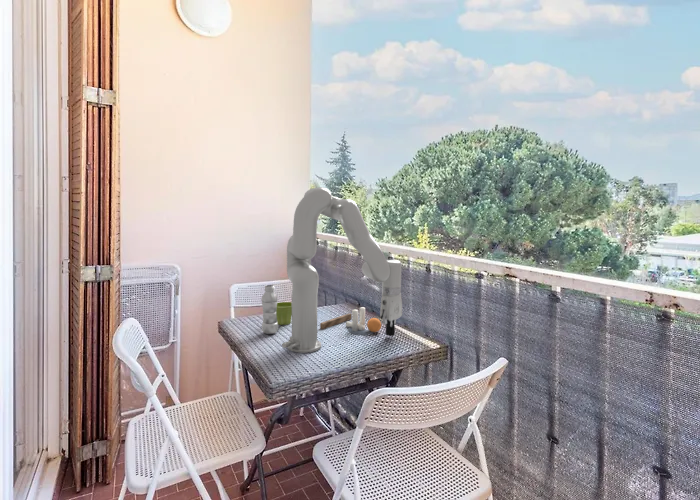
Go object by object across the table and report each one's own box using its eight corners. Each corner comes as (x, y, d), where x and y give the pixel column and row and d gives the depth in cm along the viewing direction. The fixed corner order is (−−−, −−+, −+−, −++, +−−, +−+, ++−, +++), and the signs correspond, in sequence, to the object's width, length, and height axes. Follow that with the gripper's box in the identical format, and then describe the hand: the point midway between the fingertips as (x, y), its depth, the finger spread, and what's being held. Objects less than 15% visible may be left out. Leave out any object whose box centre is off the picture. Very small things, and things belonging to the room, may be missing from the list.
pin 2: (362, 329, 167) (363, 308, 166) (358, 328, 169) (358, 308, 168) (365, 327, 169) (366, 307, 168) (361, 326, 171) (361, 306, 170)
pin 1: (355, 332, 163) (355, 311, 162) (351, 331, 165) (351, 310, 164) (358, 330, 165) (359, 310, 164) (354, 329, 167) (354, 309, 166)
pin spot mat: (365, 337, 157) (365, 336, 157) (342, 330, 165) (342, 330, 165) (381, 329, 167) (381, 329, 167) (359, 324, 174) (359, 323, 174)
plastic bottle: (274, 336, 157) (274, 288, 154) (259, 335, 158) (258, 287, 156) (280, 331, 163) (280, 284, 161) (265, 330, 164) (265, 284, 162)
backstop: (322, 329, 166) (323, 323, 166) (320, 328, 167) (320, 323, 167) (351, 319, 182) (351, 313, 182) (348, 318, 183) (348, 313, 183)
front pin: (361, 326, 164) (345, 321, 170) (361, 331, 165) (345, 327, 170) (365, 324, 166) (349, 320, 172) (365, 330, 166) (349, 325, 172)
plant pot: (283, 327, 168) (283, 308, 167) (268, 323, 173) (268, 304, 172) (298, 322, 175) (298, 304, 174) (284, 319, 181) (284, 300, 180)
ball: (362, 322, 164) (367, 335, 162) (371, 316, 161) (376, 329, 159) (371, 320, 169) (377, 333, 166) (380, 314, 165) (386, 327, 163)
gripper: (389, 295, 147) (388, 342, 149) (408, 289, 159) (407, 332, 161) (373, 292, 151) (372, 337, 154) (393, 286, 163) (392, 328, 165)
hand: (390, 334), depth 157 cm, fingers closed
